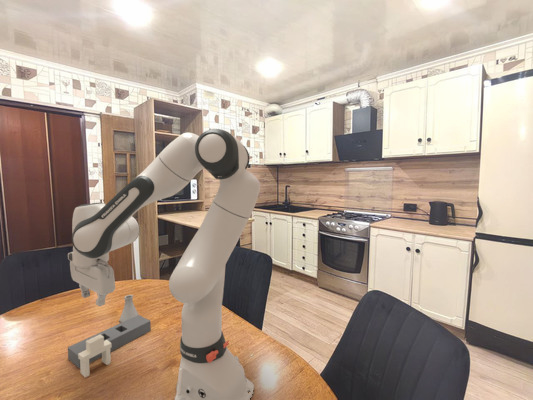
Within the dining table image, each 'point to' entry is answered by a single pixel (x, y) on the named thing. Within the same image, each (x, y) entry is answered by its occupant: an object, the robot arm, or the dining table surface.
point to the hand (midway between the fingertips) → (93, 300)
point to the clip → (94, 353)
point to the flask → (128, 309)
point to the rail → (113, 337)
